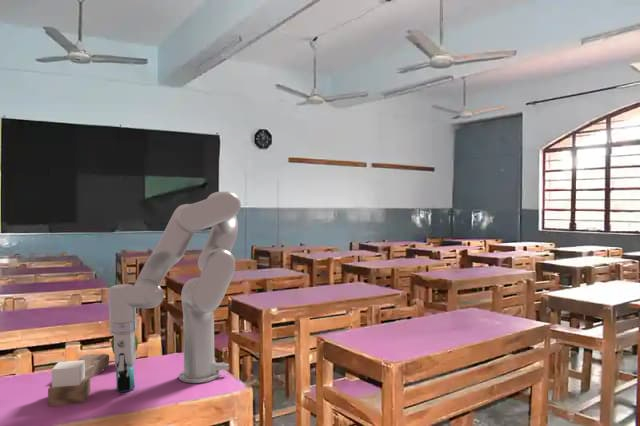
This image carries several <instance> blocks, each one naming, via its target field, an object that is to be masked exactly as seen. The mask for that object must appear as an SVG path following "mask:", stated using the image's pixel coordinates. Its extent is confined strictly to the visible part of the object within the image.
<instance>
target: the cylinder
mask: <svg viewBox="0 0 640 426" xmlns="http://www.w3.org/2000/svg"><path fill="white" fill-rule="evenodd" d="M124 370H126V368H124ZM129 376H130V390H126V391H119V390H118V368H116V369H115V377H116V378H115V379H116V380H115V381H116V391H117V392H121V393H122V392H123V393H124V392H128V391H129V392H130V391H133V390H134V389H135V386H136V385H135V384H136V383H135V366H134V365H133V366H132V367H130V366H129Z"/></svg>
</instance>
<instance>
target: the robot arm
mask: <svg viewBox="0 0 640 426" xmlns="http://www.w3.org/2000/svg"><path fill="white" fill-rule="evenodd" d="M241 207H242V203H241V199H240V198H239V196H238V195H236V193H234V192H231V191H216V192H213V193H211V194H210V195H208V196H207V198H206V199H203V200H200V201H197V202H193V203H185V204H180V205H178V206H177V208H176V209H174V211H173V212H172V214H171V215H172V216H171V217H170V219H169V221H168V223H167V225H166V227H165V229H164V231H163V233H162V236H161V237H160V239H159V241H158V243H157V245H156V247H155V248H154V249H153V251H152V253H151V254H150V256H149V257H148V259H147V260H146V262H145V263H144V265H143V266H142V269H141V270H140V273H139V275H138V276H137V278H136V280H135V283H134V284H130V283H128V284H127V283H124V284H123V283H122V284H115V285H112V286H111V287H109V288H108V292H107V293H108V294H107V295H108V298H107V299H108V317H109V323H108V324H109V334H110V335H113V337H114V353H113V357H114V358H113V359H114V366H115V368H116V369H117V368H118V390H119V391H118V392H120V391H125V392H127V391H126V390H130V376H129V366H130V367H132V366H133V367H134V364H135V362H136V358H137V351H136V348H135V335H136V334H135V332H137V331H138V329H137V328H138V325H137V324H138V322H137V309H154V308H156V307H158V306H160V305H161V304H162V302H164V301H163V300H164V296H165V294H164V290H163V288H162V287H161V285H162V282H163V281H164V279H165V277H166V275H167V273H168V272H169V271H170V270H171V268H172V267H173V266H175V265H176V264H177V263H179V262H180V261H181V259H182V258H183V257H184V255H185V253H186V251H187V248H188V247H189V244H190V243H191V241H192V239H193V237H194V235H195V233H196V232H200V231H203V230H206V229H209V228H210V233H209V234H208V237H207V240H206V242H205V244H204V246H203V248H202V251H201V252H200V254H199V257H198V259H197V267H198V270H199V271H201V273H200V275H199V277H192V278H190V279H188V280H187V281H186V282H185V283H184V285H183V287H182V289H181V295H180V296H181V297H180V298H181V299H180V301H181V308H182V317H183V319H182V320H183V329H182V330H183V333H182V335H183V370H182V371H180V373H179V375H178V378H179V380H180V381H181V382H184V383H187V384H200V383H207V382H210V381H211V382H212V381H213V380H216V379H217V378H219V376H220V371H227V370H228V371H229V370H230V363H225V362H224V361H223V362H216V358H215V320H214V319H215V318H214V317H215V315H214V311H215V310H217V308H219V307H220V305H221V303H222V301H223V299H224V297H225V295H226V293H227V291H228V288H229V286H230V284H231V281H232V279H233V276H234V274H235V271H236V259H235V257H234V255H233V254H232V250H233V247H234V245H235V242H236V240H237V236H238V232H239V221H238V218H237V215H238V214H239V212H240V210H241ZM124 368H126V370H124ZM130 391H131V390H130Z"/></svg>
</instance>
